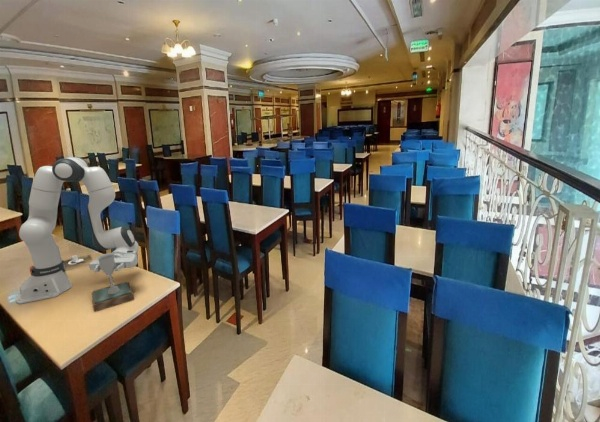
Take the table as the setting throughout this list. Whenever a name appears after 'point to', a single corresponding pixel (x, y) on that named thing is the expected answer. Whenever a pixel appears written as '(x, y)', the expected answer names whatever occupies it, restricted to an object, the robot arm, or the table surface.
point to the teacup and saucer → (75, 259)
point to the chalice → (108, 269)
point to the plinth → (112, 296)
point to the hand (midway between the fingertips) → (106, 270)
